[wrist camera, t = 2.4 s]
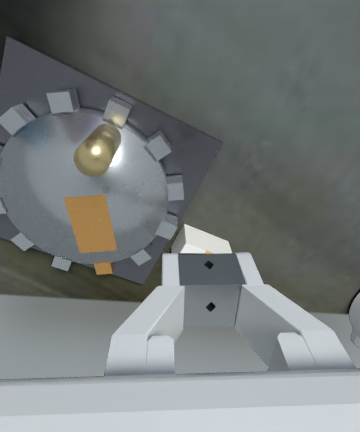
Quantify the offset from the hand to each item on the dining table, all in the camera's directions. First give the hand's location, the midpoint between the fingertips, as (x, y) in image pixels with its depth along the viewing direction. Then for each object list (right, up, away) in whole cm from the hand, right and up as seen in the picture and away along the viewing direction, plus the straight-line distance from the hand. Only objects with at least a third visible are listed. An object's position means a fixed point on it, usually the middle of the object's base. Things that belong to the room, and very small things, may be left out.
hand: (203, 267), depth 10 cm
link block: (+2, -2, +25) cm, 25 cm away
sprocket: (-10, +4, +19) cm, 22 cm away
